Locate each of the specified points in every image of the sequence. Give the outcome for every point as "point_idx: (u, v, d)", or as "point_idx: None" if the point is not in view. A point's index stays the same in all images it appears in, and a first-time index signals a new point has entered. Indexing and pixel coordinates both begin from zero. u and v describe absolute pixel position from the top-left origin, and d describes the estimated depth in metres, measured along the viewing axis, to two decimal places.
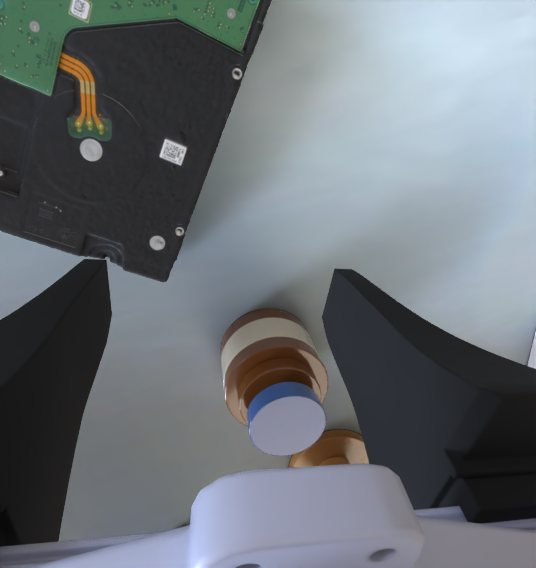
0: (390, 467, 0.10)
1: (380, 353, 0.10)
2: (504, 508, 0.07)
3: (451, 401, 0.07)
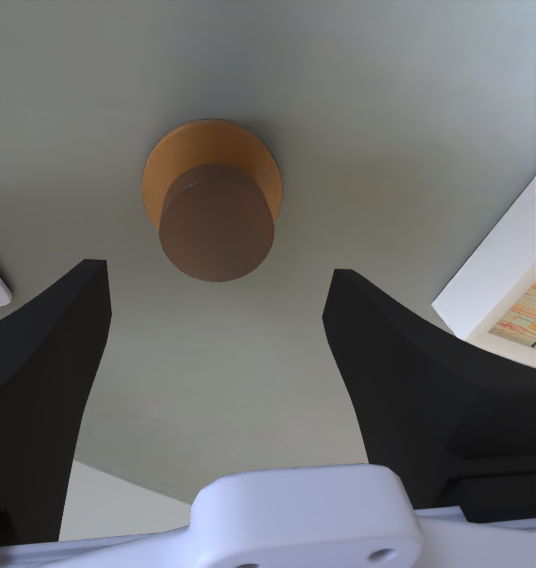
0: (390, 467, 0.10)
1: (380, 353, 0.10)
2: (504, 508, 0.07)
3: (451, 400, 0.07)
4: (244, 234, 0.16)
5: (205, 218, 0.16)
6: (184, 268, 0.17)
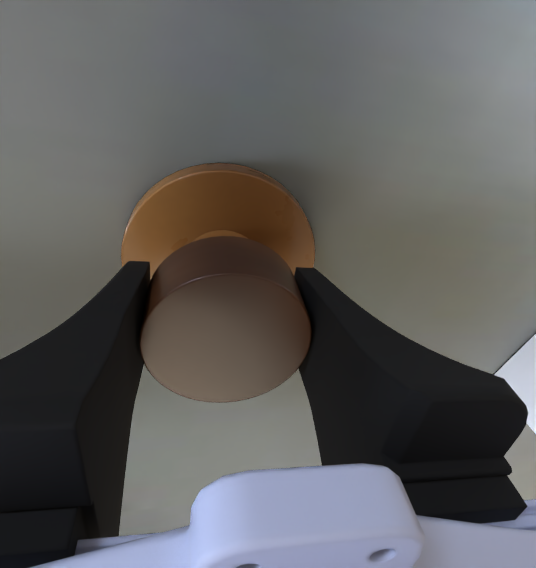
0: None
1: (332, 353, 0.10)
2: (438, 514, 0.07)
3: (387, 403, 0.07)
4: (266, 343, 0.11)
5: (210, 325, 0.10)
6: (178, 389, 0.11)
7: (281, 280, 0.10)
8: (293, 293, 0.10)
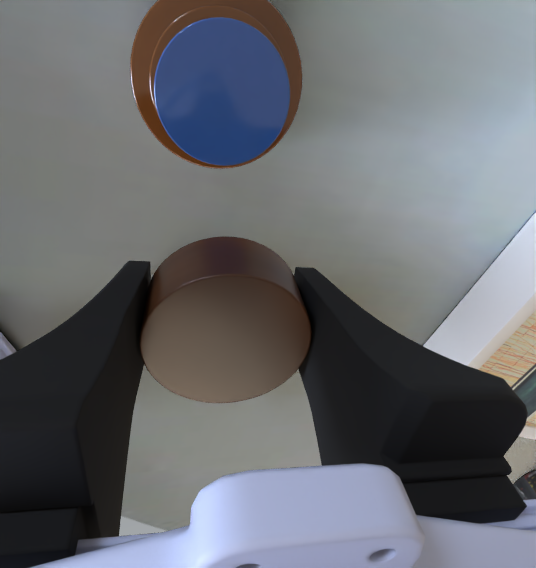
0: None
1: (331, 353, 0.10)
2: (437, 514, 0.07)
3: (386, 402, 0.07)
4: (266, 344, 0.11)
5: (209, 326, 0.10)
6: (178, 389, 0.11)
7: (281, 281, 0.10)
8: (293, 294, 0.10)
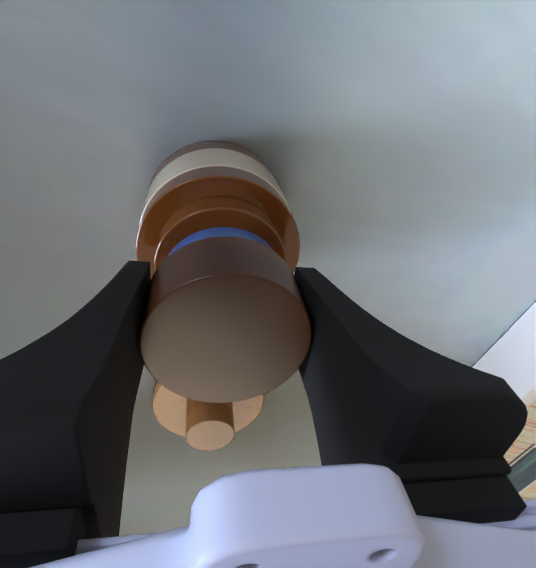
0: None
1: (331, 353, 0.10)
2: (437, 514, 0.07)
3: (386, 403, 0.07)
4: (267, 343, 0.11)
5: (210, 325, 0.10)
6: (178, 389, 0.11)
7: (281, 280, 0.10)
8: (293, 293, 0.10)
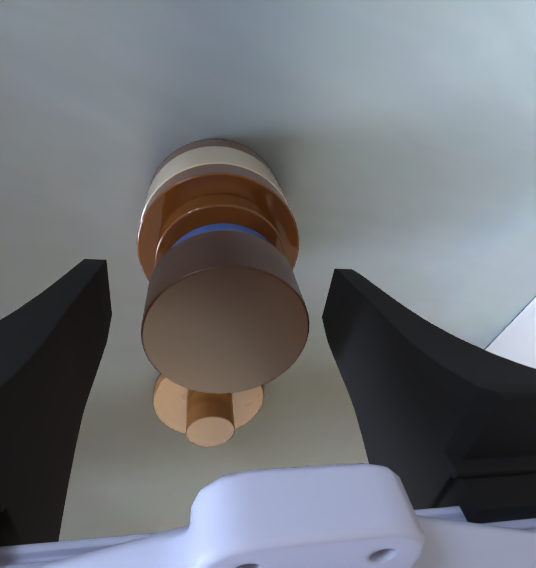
0: (390, 467, 0.10)
1: (380, 353, 0.10)
2: (504, 508, 0.07)
3: (451, 401, 0.07)
4: (265, 334, 0.11)
5: (209, 317, 0.11)
6: (179, 380, 0.12)
7: (279, 273, 0.10)
8: (291, 286, 0.10)
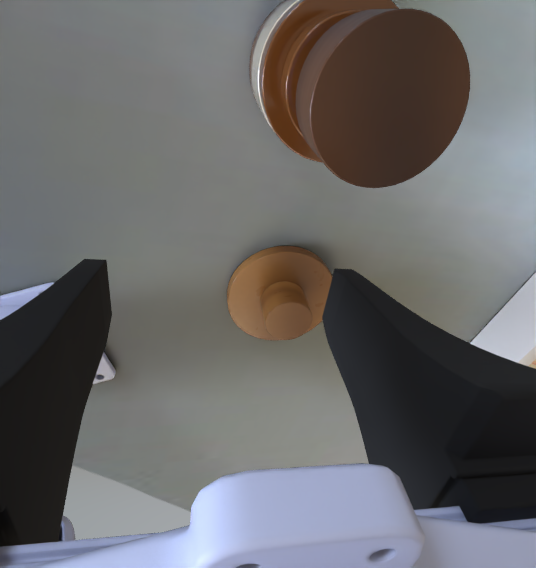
0: (390, 467, 0.10)
1: (380, 353, 0.10)
2: (504, 508, 0.07)
3: (452, 400, 0.07)
4: (426, 109, 0.11)
5: (380, 78, 0.11)
6: (333, 163, 0.12)
7: None
8: (462, 45, 0.11)
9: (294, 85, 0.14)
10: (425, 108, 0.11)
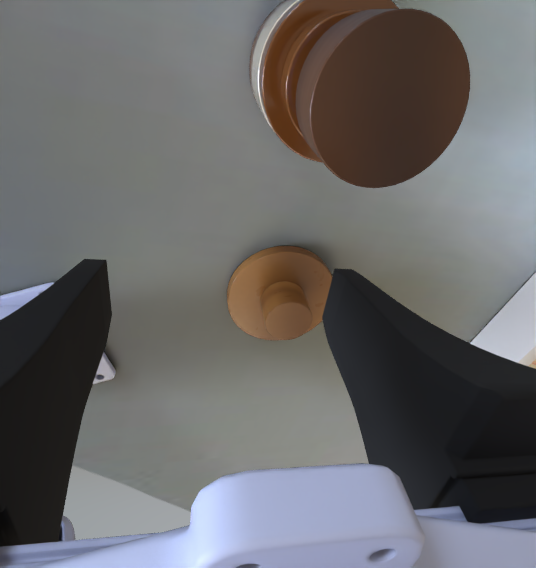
0: (390, 467, 0.10)
1: (380, 353, 0.10)
2: (504, 508, 0.07)
3: (452, 400, 0.07)
4: (426, 109, 0.11)
5: (380, 78, 0.11)
6: (333, 163, 0.12)
7: None
8: (462, 45, 0.11)
9: (294, 85, 0.14)
10: (425, 108, 0.11)
